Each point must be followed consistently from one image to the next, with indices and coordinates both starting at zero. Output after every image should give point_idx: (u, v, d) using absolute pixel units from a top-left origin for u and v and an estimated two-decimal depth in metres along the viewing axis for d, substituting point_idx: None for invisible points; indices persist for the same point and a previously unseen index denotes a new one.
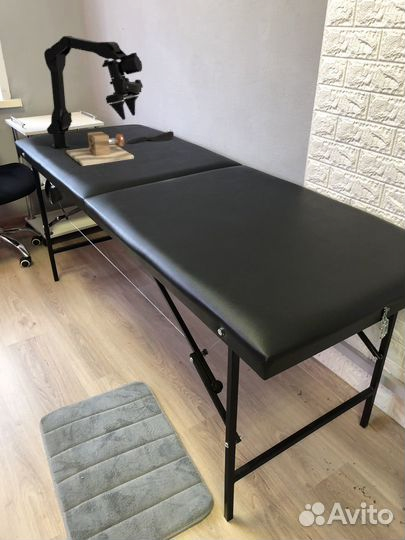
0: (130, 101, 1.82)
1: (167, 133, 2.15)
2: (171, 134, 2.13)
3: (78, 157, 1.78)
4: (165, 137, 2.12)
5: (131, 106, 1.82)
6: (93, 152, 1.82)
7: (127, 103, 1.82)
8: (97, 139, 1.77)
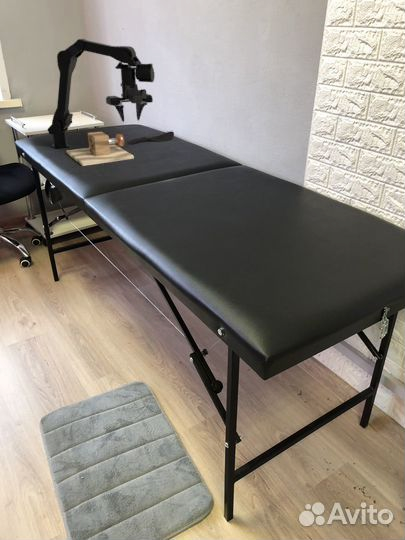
0: (138, 106, 1.85)
1: (167, 133, 2.15)
2: (171, 134, 2.13)
3: (78, 157, 1.78)
4: (165, 137, 2.12)
5: (138, 111, 1.86)
6: (93, 152, 1.82)
7: (136, 107, 1.86)
8: (97, 139, 1.77)
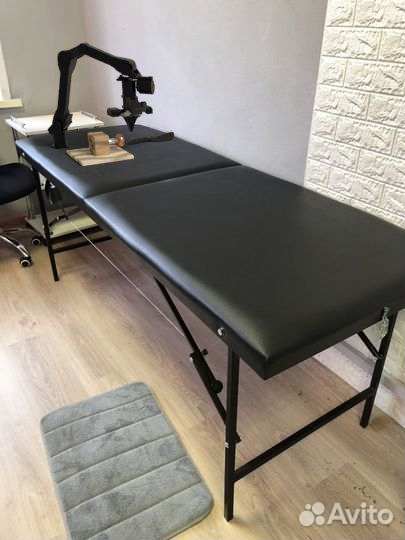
0: (131, 118, 1.85)
1: (168, 133, 2.14)
2: (172, 134, 2.12)
3: (78, 157, 1.78)
4: (166, 137, 2.11)
5: (131, 123, 1.86)
6: (93, 152, 1.82)
7: None
8: (97, 139, 1.77)
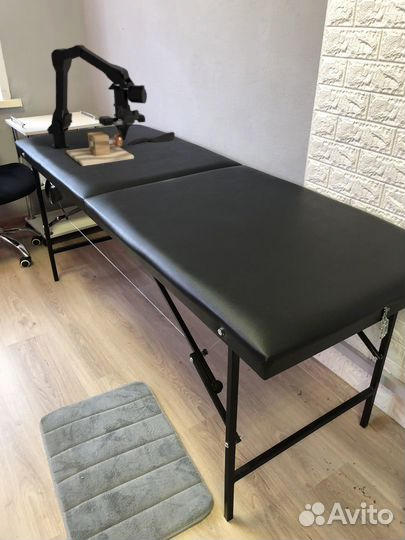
0: (124, 126, 1.85)
1: (168, 134, 2.14)
2: (172, 135, 2.12)
3: (78, 157, 1.78)
4: (166, 138, 2.11)
5: None
6: (93, 152, 1.82)
7: None
8: (97, 139, 1.77)
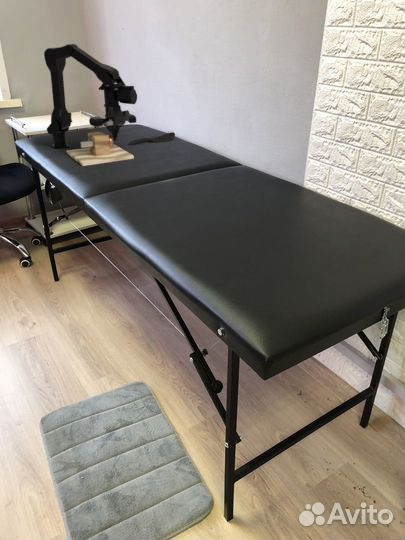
0: (114, 127, 1.83)
1: (168, 134, 2.14)
2: (172, 135, 2.11)
3: (78, 157, 1.78)
4: (166, 138, 2.11)
5: (114, 132, 1.84)
6: (93, 152, 1.82)
7: None
8: (97, 139, 1.77)
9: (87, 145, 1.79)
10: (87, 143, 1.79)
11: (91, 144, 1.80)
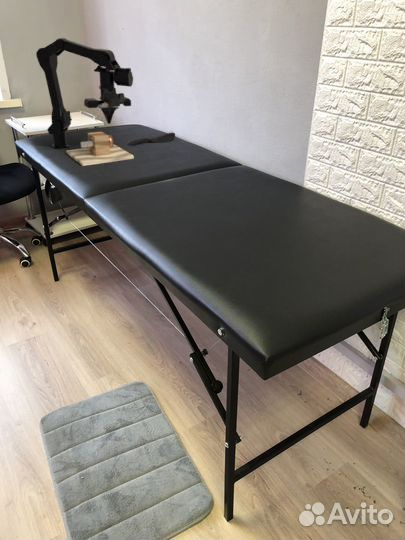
0: (109, 109, 1.84)
1: (168, 134, 2.13)
2: (173, 135, 2.11)
3: (78, 157, 1.78)
4: (166, 138, 2.10)
5: (109, 115, 1.85)
6: (93, 152, 1.82)
7: None
8: (97, 139, 1.77)
9: (87, 145, 1.79)
10: (87, 143, 1.79)
11: (91, 144, 1.80)
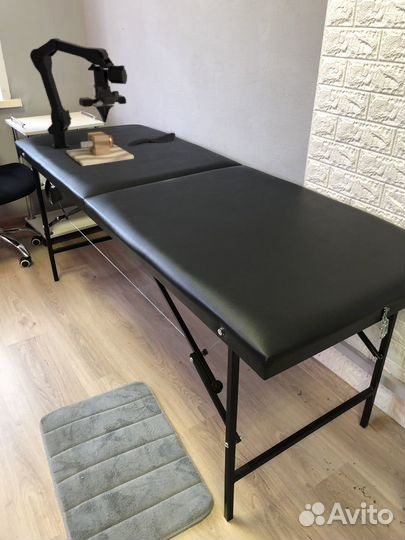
0: (104, 108, 1.84)
1: (169, 134, 2.13)
2: (173, 135, 2.11)
3: (78, 157, 1.78)
4: (167, 139, 2.10)
5: (104, 113, 1.85)
6: (93, 152, 1.82)
7: None
8: (97, 139, 1.77)
9: (87, 145, 1.79)
10: (87, 143, 1.79)
11: (91, 144, 1.80)
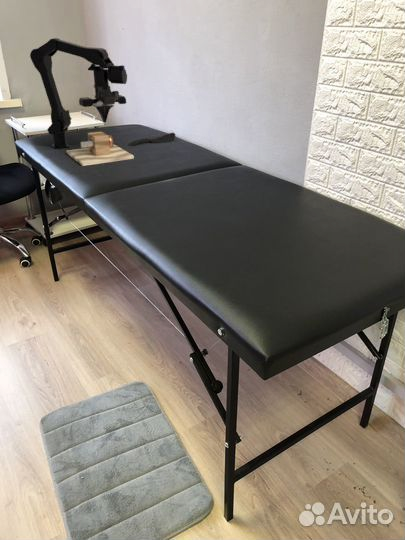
0: (104, 108, 1.84)
1: (169, 135, 2.13)
2: (173, 136, 2.11)
3: (78, 157, 1.78)
4: (167, 139, 2.10)
5: (104, 113, 1.85)
6: (93, 152, 1.82)
7: None
8: (97, 139, 1.77)
9: (87, 145, 1.79)
10: (87, 143, 1.79)
11: (91, 144, 1.80)
